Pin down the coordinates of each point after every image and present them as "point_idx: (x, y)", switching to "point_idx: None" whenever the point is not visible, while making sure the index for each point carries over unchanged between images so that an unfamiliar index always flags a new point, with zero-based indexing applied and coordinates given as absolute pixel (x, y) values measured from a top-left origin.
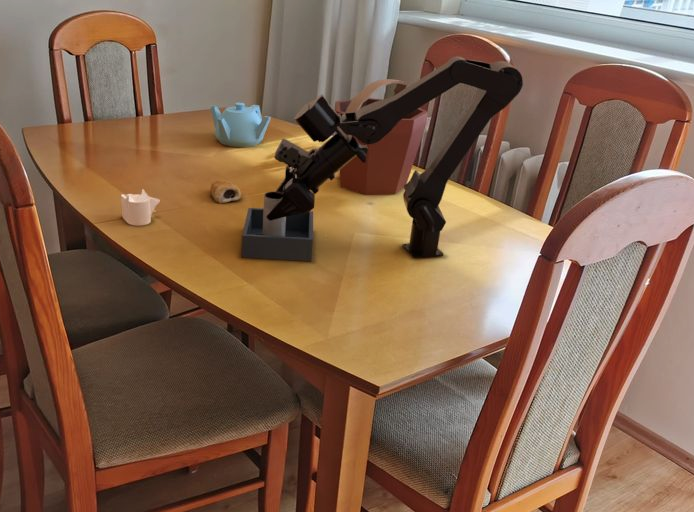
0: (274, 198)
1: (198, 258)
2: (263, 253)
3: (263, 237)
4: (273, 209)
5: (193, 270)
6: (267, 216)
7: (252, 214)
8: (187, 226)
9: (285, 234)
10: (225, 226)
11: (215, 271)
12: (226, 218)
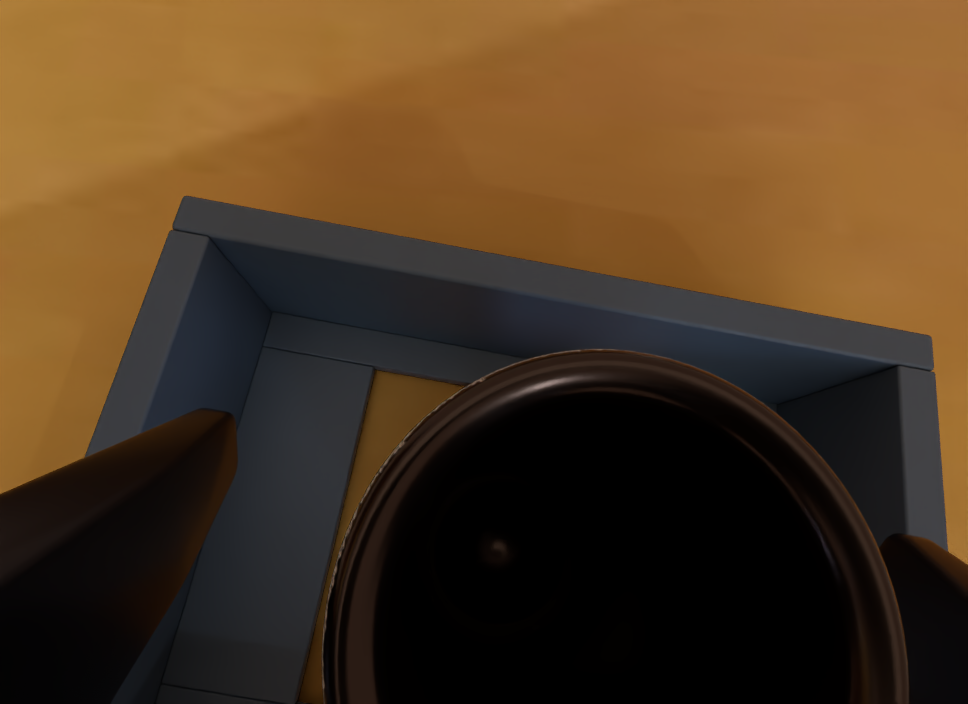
0: (763, 612)
1: (283, 45)
2: None
3: (112, 392)
4: (3, 499)
5: (111, 7)
6: (184, 419)
7: (856, 383)
8: (774, 34)
9: None
10: (809, 239)
11: (66, 112)
12: (955, 259)
